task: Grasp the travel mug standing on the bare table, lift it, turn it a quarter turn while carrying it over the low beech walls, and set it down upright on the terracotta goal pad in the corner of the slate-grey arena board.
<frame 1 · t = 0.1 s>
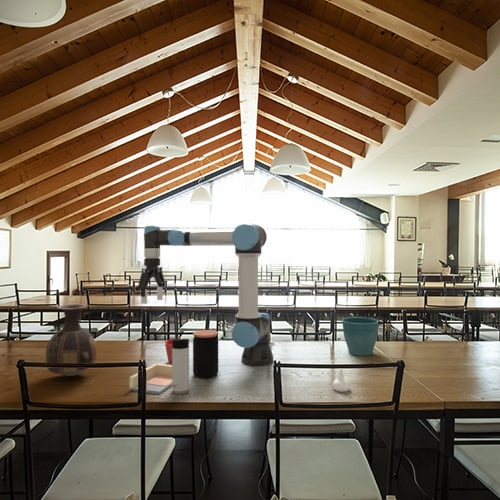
hand: (152, 301, 184), 28 cm above the table, fingers open, 13 cm apart
flower pot 2: (360, 353, 195), on the table
vase: (71, 377, 159), on the table
travel mug: (180, 391, 143), on the table
flower pot: (176, 362, 180), on the table
garlic bulb: (341, 390, 145), on the table
arena: (157, 384, 151), on the table
coffee jar: (205, 375, 162), on the table
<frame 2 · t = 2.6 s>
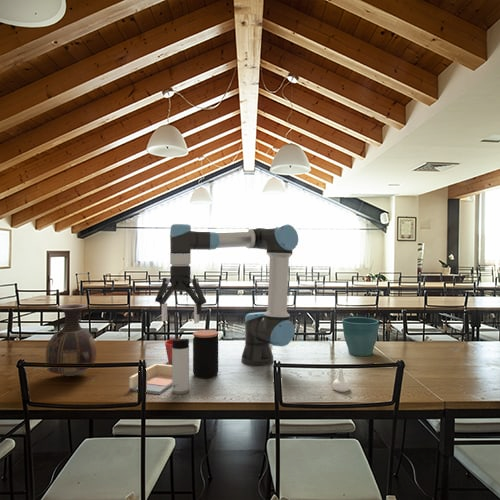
hand: (180, 321, 143), 26 cm above the table, fingers open, 13 cm apart
nothing on the table moved.
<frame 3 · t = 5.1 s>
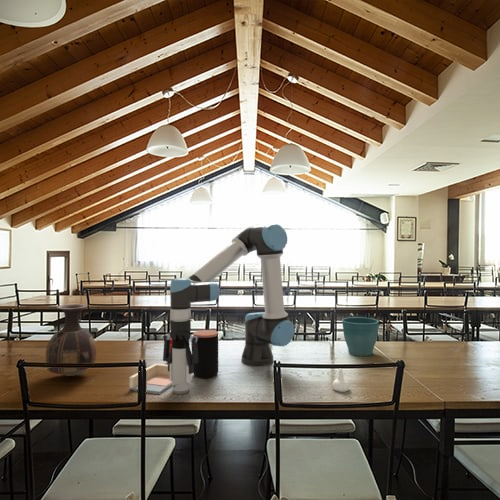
hand: (180, 380, 143), 4 cm above the table, fingers closed on travel mug, 6 cm apart
travel mug: (180, 391, 143), on the table, touching gripper
everything else where it was.
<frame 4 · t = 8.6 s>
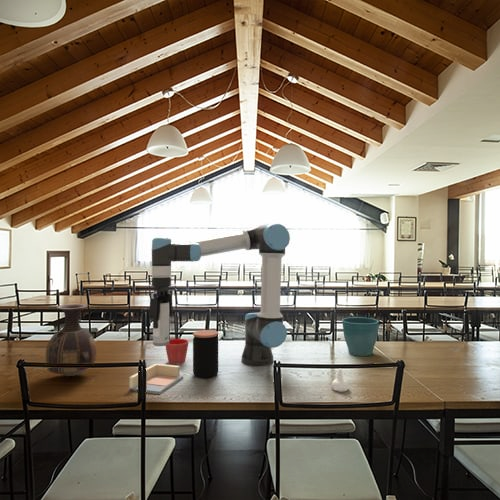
hand: (161, 334, 152), 19 cm above the table, fingers closed on travel mug, 6 cm apart
travel mug: (161, 344, 152), point 15 cm above the table, touching gripper
everything else where it was.
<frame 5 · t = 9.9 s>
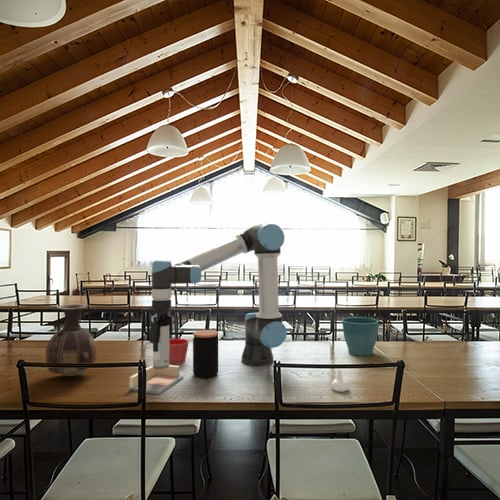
hand: (161, 357, 152), 10 cm above the table, fingers closed on travel mug, 6 cm apart
travel mug: (161, 367, 152), point 6 cm above the table, touching gripper
everything else where it was.
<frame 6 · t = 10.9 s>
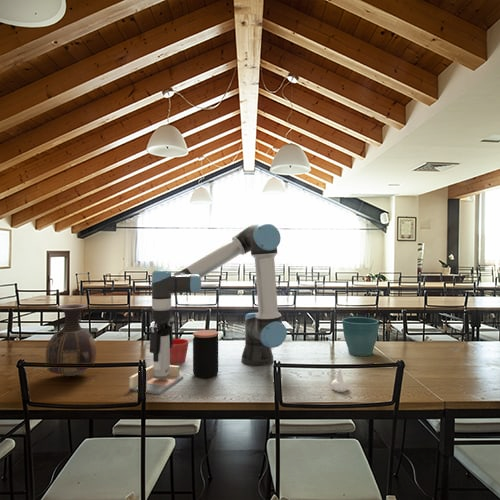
hand: (161, 366, 152), 7 cm above the table, fingers closed on travel mug, 6 cm apart
travel mug: (162, 377, 152), point 2 cm above the table, touching gripper
everything else where it was.
when the fingers open (7 cm above the table, at t = 11.1 s): travel mug drops 1 cm, resting on arena.
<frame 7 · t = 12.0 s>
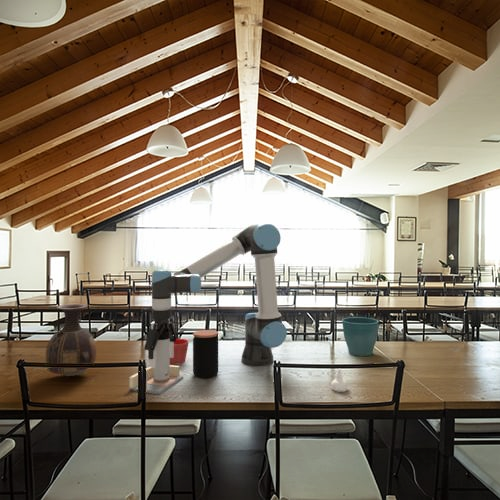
hand: (161, 362, 152), 8 cm above the table, fingers open, 13 cm apart
travel mug: (162, 380, 152), point 1 cm above the table, touching arena
everything else where it was.
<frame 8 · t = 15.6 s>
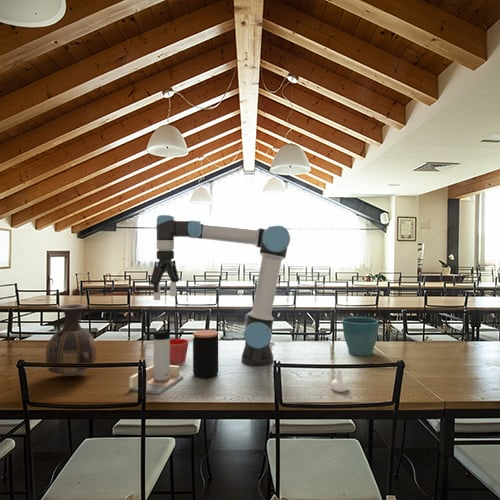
hand: (165, 298, 169), 32 cm above the table, fingers open, 13 cm apart
nothing on the table moved.
at the end: travel mug inside the target area (0.1 cm from its centre), point 1.0 cm above the table; travel mug tilted 0°; the gripper is holding nothing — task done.
